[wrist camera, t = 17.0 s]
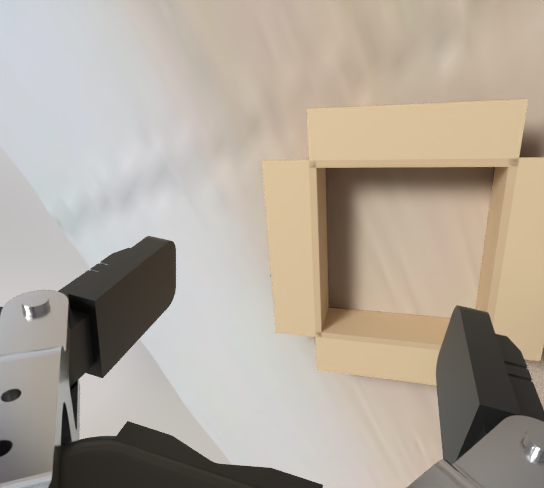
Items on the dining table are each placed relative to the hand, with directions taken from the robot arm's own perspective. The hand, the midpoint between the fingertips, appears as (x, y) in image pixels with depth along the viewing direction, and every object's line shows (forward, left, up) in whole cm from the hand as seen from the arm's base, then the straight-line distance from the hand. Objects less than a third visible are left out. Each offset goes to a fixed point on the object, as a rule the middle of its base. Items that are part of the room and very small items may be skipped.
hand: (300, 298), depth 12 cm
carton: (+10, +3, -28) cm, 30 cm away
